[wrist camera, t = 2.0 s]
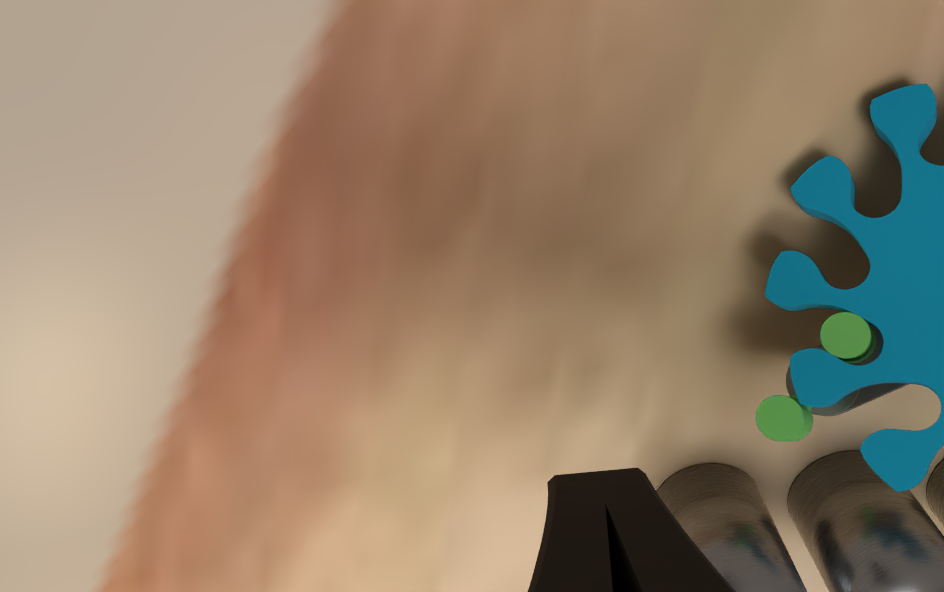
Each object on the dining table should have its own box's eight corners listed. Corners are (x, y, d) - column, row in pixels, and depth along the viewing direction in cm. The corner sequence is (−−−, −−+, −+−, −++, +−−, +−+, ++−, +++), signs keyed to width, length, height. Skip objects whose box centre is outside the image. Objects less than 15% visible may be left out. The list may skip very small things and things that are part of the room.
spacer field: (1209, -273, 16) (1459, -333, 12) (1030, 521, 24) (1140, 644, 20) (630, -196, 17) (680, -227, 13) (651, 553, 25) (685, 679, 21)
